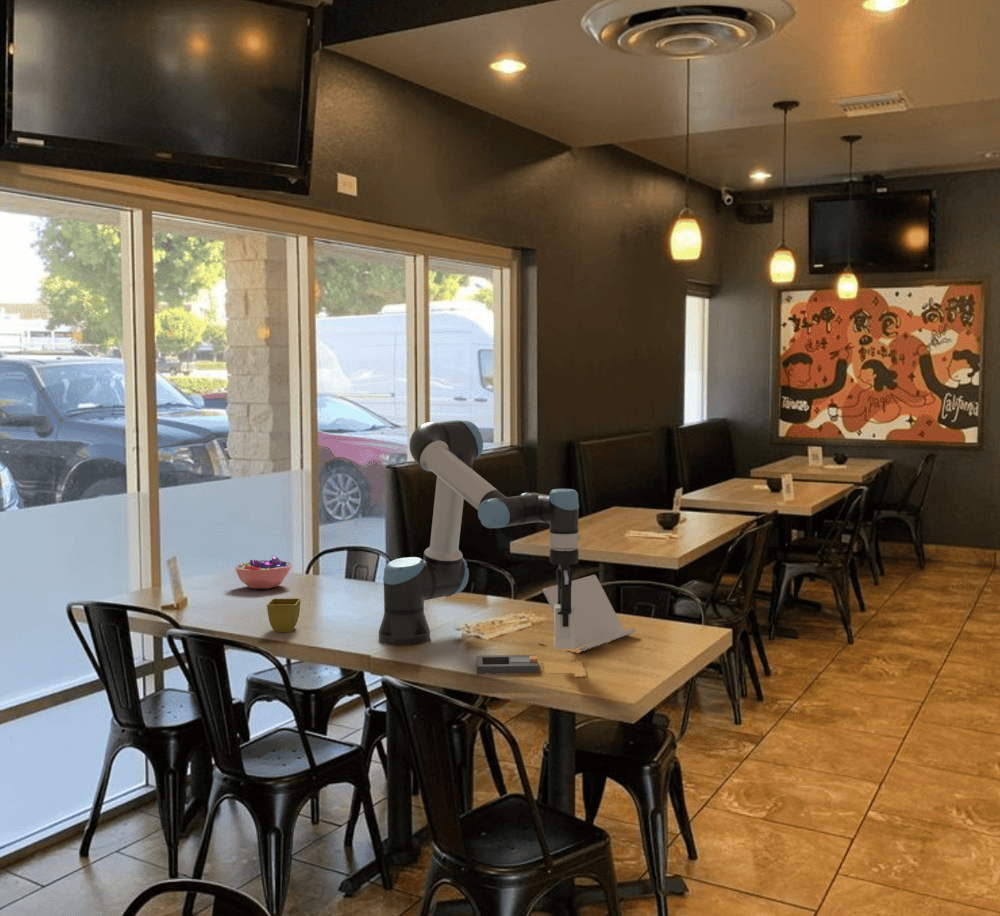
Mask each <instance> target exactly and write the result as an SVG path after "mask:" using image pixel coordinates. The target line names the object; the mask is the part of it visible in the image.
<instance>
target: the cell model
mask: <svg viewBox="0 0 1000 916" xmlns="http://www.w3.org/2000/svg"><path fill="white" fill-rule="evenodd" d="M292 567H293V564H292V563H291V562H288V561H284V560H280V558H279V557H277V556H275V555H271V559H270V560H265V559H263V560H258V559H250V560H249V562H245V563H240V564H237V565H235V567H234V569H235V572H236V574H237V577H238V579H239V580H240V581H241V582H242V584H244V585H246V586H247V587H249V588H250V589H256V590H257V589H258V590H259V589H261V590H268V589H271V588H276V587H279V586H281V584H283V583H284V581H285V579H286V577H287V576H288V574H289V573H290V570H291V569H292Z"/></svg>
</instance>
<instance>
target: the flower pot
mask: <svg viewBox="0 0 1000 916" xmlns="http://www.w3.org/2000/svg"><path fill="white" fill-rule="evenodd" d="M266 609H267V615H268V621H269V623H270V627H271V629H272V630H273V631H274V632H275V633H290V632H291V633H292V632H293V631H294V629H295V627H296V625H297V624H298V620H299V617H300V609H301V598H297V597H295V598H293V597H292V598H290V597H289V598H272V599H270V601H269V602H268V603H267V604H266Z"/></svg>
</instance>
